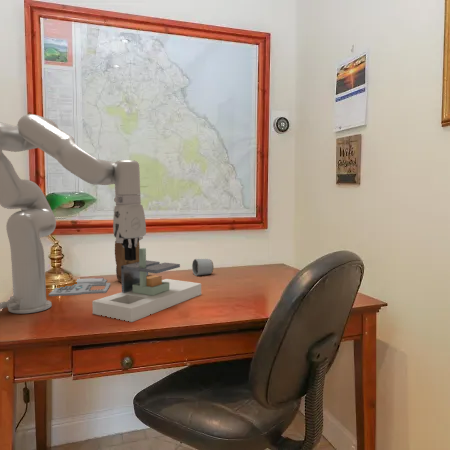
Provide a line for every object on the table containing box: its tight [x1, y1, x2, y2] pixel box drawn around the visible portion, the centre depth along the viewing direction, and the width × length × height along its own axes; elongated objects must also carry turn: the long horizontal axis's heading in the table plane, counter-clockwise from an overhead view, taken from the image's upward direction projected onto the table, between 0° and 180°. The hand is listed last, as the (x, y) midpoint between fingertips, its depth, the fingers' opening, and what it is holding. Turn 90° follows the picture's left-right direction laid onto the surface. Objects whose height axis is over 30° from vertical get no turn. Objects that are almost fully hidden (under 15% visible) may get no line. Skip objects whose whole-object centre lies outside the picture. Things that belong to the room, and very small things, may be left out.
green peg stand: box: [133, 247, 170, 295], centre depth 136 cm, size 9×9×15 cm
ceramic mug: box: [191, 258, 214, 277], centre depth 184 cm, size 10×8×7 cm
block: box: [114, 240, 141, 283], centre depth 169 cm, size 11×8×20 cm
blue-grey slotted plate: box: [48, 277, 111, 297], centre depth 160 cm, size 23×3×20 cm
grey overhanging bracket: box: [121, 259, 181, 293], centre depth 137 cm, size 12×15×9 cm
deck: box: [92, 278, 202, 323], centre depth 137 cm, size 36×16×4 cm, turn 149°
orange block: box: [146, 274, 163, 287], centre depth 137 cm, size 5×5×5 cm
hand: (130, 259), depth 128 cm, fingers closed
